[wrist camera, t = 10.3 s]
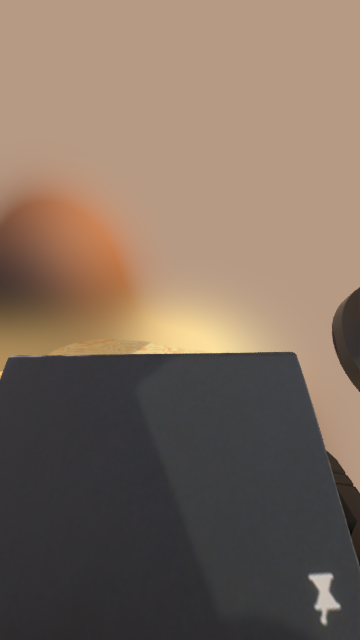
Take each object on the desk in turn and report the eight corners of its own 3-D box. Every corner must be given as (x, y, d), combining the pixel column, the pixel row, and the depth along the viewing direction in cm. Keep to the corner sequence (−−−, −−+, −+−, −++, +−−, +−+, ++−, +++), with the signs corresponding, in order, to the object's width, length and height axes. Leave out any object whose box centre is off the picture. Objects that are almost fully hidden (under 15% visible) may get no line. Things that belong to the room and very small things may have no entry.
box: (224, 412, 16) (303, 346, 6) (236, 524, 13) (408, 694, 4) (101, 414, 15) (0, 348, 6) (86, 530, 12) (-147, 736, 3)
